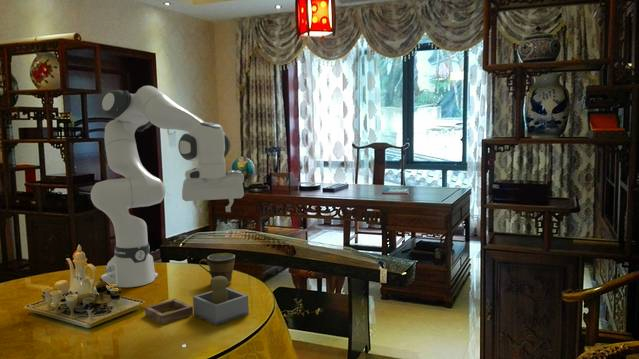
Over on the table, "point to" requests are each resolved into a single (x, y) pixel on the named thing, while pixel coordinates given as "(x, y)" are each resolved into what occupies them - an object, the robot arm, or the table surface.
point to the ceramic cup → (220, 265)
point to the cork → (219, 289)
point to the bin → (221, 307)
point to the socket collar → (181, 312)
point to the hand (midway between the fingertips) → (213, 212)
